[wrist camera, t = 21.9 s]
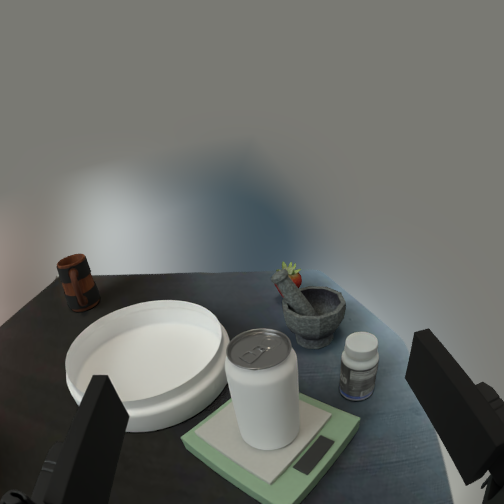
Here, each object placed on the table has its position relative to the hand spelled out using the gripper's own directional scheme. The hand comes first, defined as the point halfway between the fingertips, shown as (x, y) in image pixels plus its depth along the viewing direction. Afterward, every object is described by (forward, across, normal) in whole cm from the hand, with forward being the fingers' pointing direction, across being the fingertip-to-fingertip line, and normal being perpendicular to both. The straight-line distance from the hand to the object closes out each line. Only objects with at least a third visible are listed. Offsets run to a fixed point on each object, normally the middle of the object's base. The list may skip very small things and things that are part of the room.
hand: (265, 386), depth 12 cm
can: (+12, 0, -20) cm, 23 cm away
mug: (+52, -40, -23) cm, 69 cm away
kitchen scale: (+12, 0, -23) cm, 26 cm away
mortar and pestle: (+32, +8, -23) cm, 40 cm away
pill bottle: (+19, +12, -23) cm, 32 cm away
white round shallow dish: (+29, -18, -23) cm, 41 cm away
